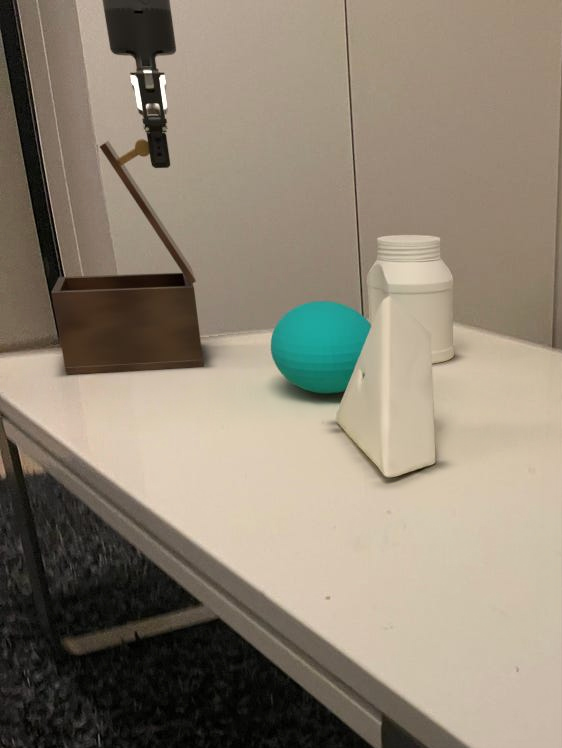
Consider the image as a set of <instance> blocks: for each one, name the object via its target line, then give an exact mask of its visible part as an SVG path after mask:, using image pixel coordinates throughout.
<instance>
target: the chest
mask: <svg viewBox="0 0 562 748" xmlns="http://www.w3.org/2000/svg"><path fill="white" fill-rule="evenodd" d="M50 294H51V300H52V305H53V311H54V315H55V320H56V326H57V331H58V336H59V341H60V342H59V343H60V347H61V352H62V357H63V362H64V368H65V373H66V375H67V376H68V375H83V374H99V373H100V374H101V373H102V374H103V373H115V372H117V373H119V372H134V371H151V370H167V369H185V368H203V367H204V366H205V365H204V364H205V363H204V358H203V350H202V341H201V333H200V326H199V325H200V324H199V317H198V309H197V308H198V307H197V301H196V294H195V286H194V283H193V284H190V283H189V281H188V280H187V278H186V277H185V275H184V274H183V272H164V273H137V274H133V273H131V274H107V275H106V274H104V275H74V276H59V277H58V278H57V281H56V282H55V284H54V286H53V288H52V290H51V291H50Z"/></svg>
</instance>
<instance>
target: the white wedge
mask: <svg viewBox="0 0 562 748" xmlns="http://www.w3.org/2000/svg"><path fill="white" fill-rule="evenodd" d="M363 374H365V375H364V379H363ZM433 375H434V374H433V364H432V354H431V335H430V333H429V332H428V330H427V329H426V328H425V327H424V326H423V325H422V324H421V323H420V322H419V321H417V320H416V319H415V318H414V317H413V316H412V315H411V314H410V313H409V312H407V311H406V310H405V309H404V308H403V307H402V306H401V305H400V304H398V303H397V302H396V301H395V300H394V299H393V298H391V297H387V298H385V299H383V301H382V303H381V304H380V306H379V309H378V311H377V314H376V316H375V319H374V321H373V323H372V326H371V328H370V331H369V333H368V336H367V338H366V341H365V344H364V346H363V349H362V351H361V354H360V356H359V358H358V361H357V363H356V366H355V369H354V371H353V374H352V376H351V378H350V381H349V383H348V386H347V388H346V391H344V392H343V396H342V398H341V401H340V403H339V405H338V409H337V411H336V414H335V420H336V423H337V424H338V425H339V426H340V428H341V429H343V431H344V432H345V433H346V434H347V436H349V438H351V440H353V442H354V443H355V444H356V445H357V446H358V447H359V448H360V450H362V452H363V453H364V454H365V455H366V456H367V457H368V458H369V459H370V460H371V461H372V462H373V463H374V464H375V465H376V466H377V467H378V469H379V471H380V472H381V473H382V475H383V476H384V477H386V478H389V479H390V478H394V477H398V476H402V475H405V474H408V473H411V472H414V471H417V470H419V469H422V468H426V467H429V466H433V465H434V464H435V463H436V429H435V427H436V426H435V406H434V405H435V404H434V377H433Z"/></svg>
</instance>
